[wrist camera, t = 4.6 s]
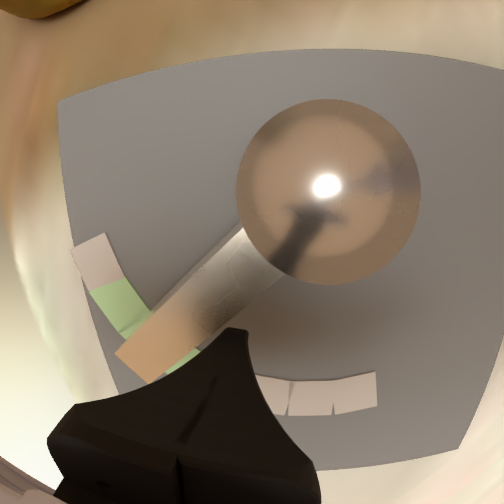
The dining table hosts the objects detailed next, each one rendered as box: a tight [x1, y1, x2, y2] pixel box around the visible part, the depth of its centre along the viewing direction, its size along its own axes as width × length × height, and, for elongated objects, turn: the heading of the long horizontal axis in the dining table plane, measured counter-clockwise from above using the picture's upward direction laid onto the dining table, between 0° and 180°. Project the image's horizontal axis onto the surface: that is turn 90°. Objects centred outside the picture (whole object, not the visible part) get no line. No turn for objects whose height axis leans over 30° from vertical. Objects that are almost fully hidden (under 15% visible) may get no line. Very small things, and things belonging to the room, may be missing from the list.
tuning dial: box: [114, 99, 421, 384], centre depth 10 cm, size 13×4×4 cm, turn 135°
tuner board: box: [57, 49, 504, 471], centre depth 14 cm, size 21×22×1 cm
